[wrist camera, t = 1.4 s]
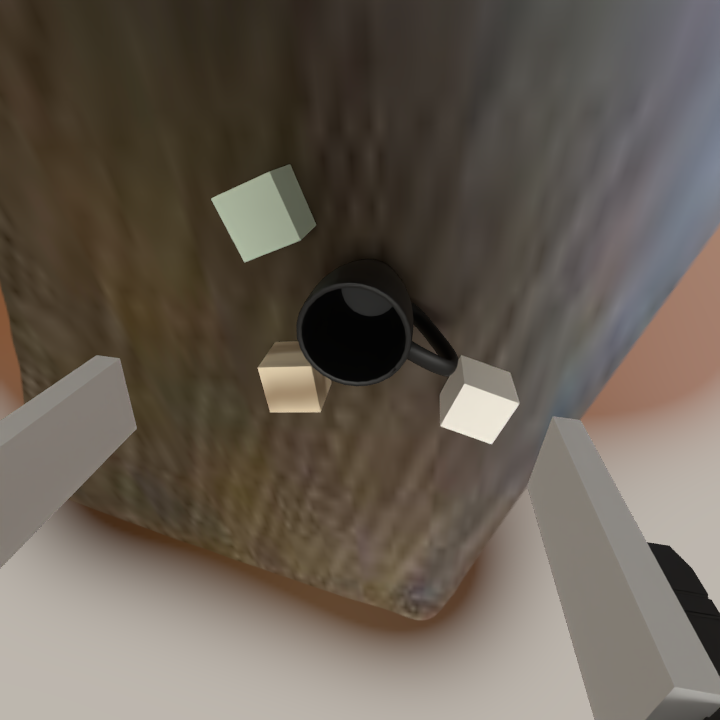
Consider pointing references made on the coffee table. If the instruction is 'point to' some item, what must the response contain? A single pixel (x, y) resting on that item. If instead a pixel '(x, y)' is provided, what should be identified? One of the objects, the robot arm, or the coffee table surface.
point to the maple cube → (292, 380)
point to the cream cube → (477, 400)
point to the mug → (367, 327)
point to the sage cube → (265, 213)
